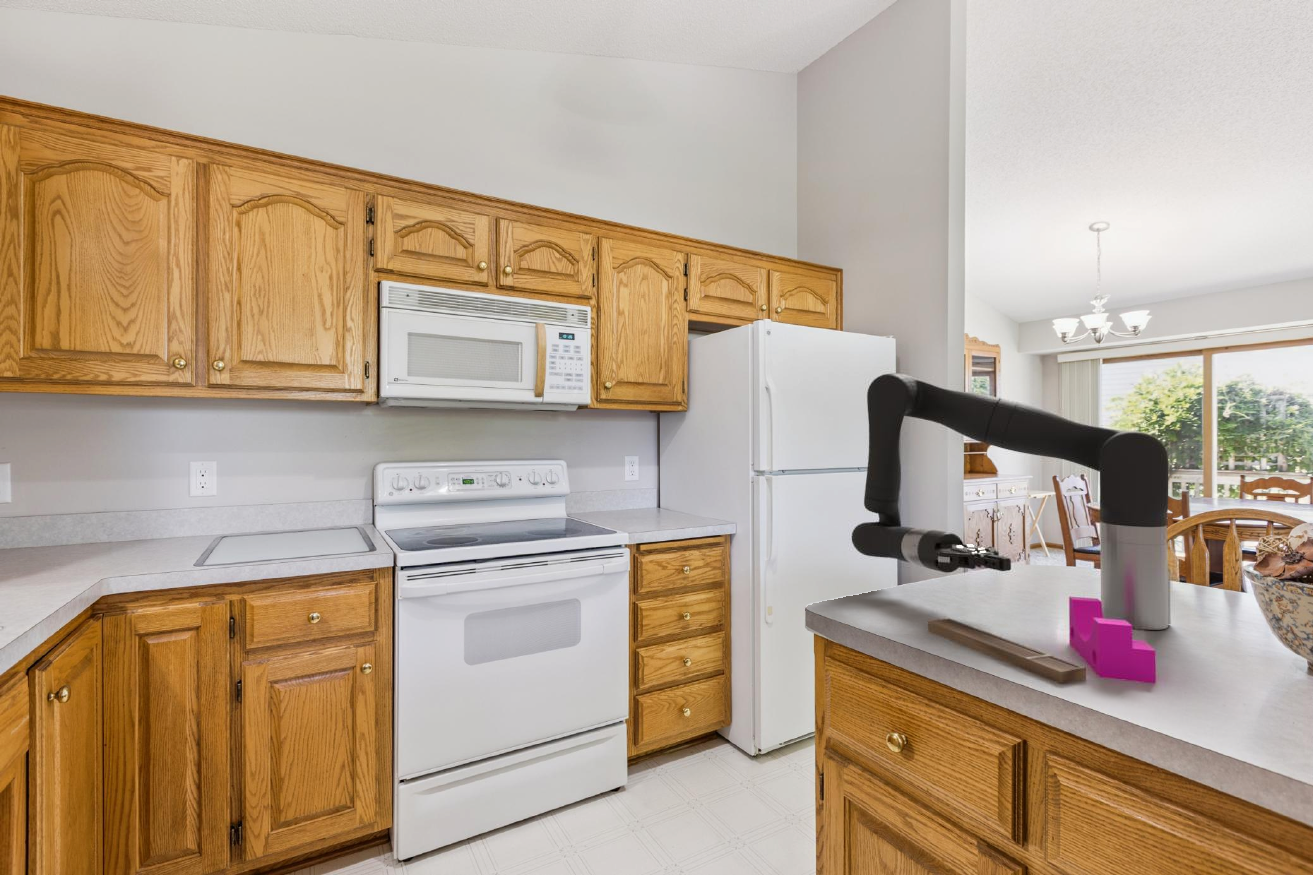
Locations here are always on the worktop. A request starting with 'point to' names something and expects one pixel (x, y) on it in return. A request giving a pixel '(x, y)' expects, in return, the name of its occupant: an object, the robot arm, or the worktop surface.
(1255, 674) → the worktop surface
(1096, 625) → the toy block
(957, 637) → the walnut plank
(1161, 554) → the robot arm
